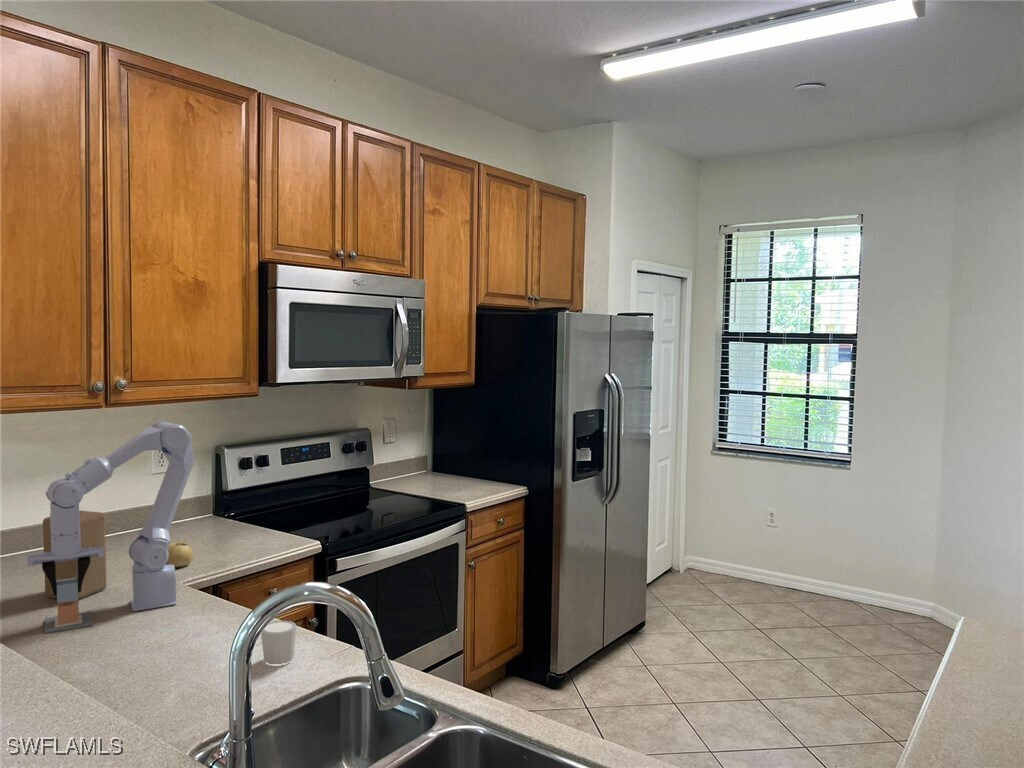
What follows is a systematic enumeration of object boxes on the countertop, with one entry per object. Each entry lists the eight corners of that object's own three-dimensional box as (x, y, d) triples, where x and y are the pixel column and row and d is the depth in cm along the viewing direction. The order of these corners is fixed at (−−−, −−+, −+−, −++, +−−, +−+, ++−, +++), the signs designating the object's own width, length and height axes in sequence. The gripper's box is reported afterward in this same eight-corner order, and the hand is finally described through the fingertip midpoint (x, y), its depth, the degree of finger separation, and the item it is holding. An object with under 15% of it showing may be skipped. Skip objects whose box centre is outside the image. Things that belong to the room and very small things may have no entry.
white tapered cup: (255, 660, 152) (254, 626, 151) (286, 650, 156) (286, 617, 156) (271, 671, 147) (270, 636, 146) (303, 660, 151) (302, 626, 151)
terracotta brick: (78, 615, 172) (78, 598, 172) (78, 621, 169) (78, 604, 169) (58, 619, 170) (57, 601, 170) (58, 625, 167) (57, 607, 167)
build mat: (90, 612, 176) (90, 610, 176) (92, 625, 168) (92, 623, 168) (45, 620, 171) (45, 618, 171) (44, 633, 163) (44, 631, 163)
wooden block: (108, 589, 192) (106, 511, 191) (76, 602, 182) (73, 521, 181) (76, 585, 195) (74, 508, 193) (43, 598, 185) (40, 518, 184)
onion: (167, 572, 206) (166, 546, 206) (158, 565, 212) (158, 540, 212) (197, 566, 211) (196, 541, 211) (188, 559, 217) (188, 535, 217)
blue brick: (77, 594, 172) (77, 577, 172) (78, 600, 169) (77, 582, 168) (57, 597, 170) (56, 580, 170) (57, 603, 167) (56, 585, 166)
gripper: (101, 524, 175) (103, 581, 176) (27, 532, 168) (29, 592, 169) (103, 531, 169) (104, 590, 170) (26, 540, 162) (28, 602, 163)
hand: (67, 592), depth 169 cm, fingers closed on blue brick, 4 cm apart
